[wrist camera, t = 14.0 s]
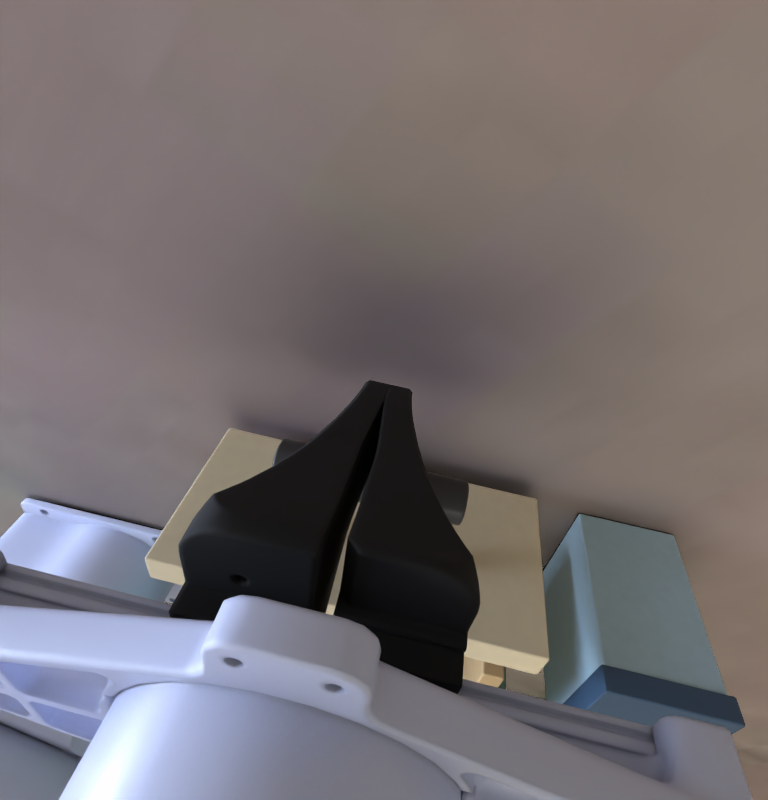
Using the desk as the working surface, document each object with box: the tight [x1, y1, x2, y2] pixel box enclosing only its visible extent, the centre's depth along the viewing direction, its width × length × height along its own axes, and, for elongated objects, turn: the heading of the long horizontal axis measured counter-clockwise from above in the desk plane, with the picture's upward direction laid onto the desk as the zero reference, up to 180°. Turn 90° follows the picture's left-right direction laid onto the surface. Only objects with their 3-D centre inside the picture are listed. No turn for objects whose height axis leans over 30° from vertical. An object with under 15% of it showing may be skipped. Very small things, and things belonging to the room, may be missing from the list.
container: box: [543, 514, 745, 734], centre depth 20 cm, size 4×6×8 cm
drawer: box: [145, 428, 549, 688], centre depth 21 cm, size 18×13×7 cm
